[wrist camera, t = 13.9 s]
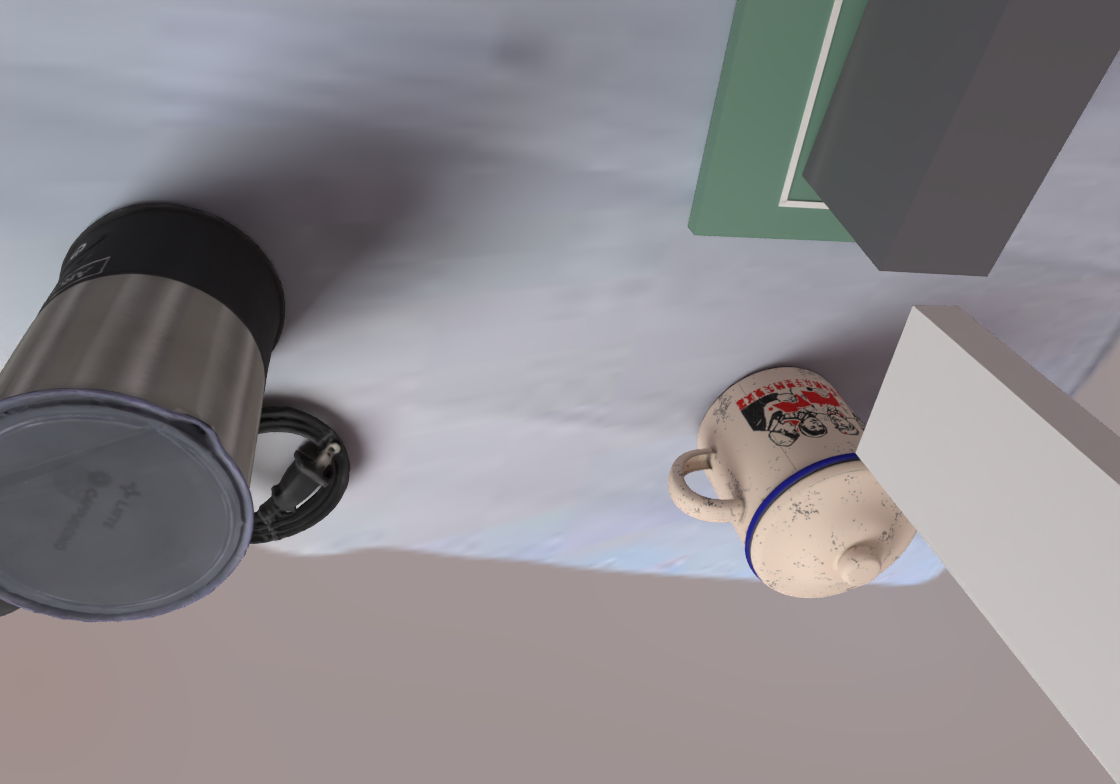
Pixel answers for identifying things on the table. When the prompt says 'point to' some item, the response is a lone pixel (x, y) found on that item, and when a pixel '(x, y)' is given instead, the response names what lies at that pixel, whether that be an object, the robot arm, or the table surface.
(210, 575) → the milk frother
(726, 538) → the table surface
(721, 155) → the pin board
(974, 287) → the table surface
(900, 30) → the block
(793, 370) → the teacup with lid
